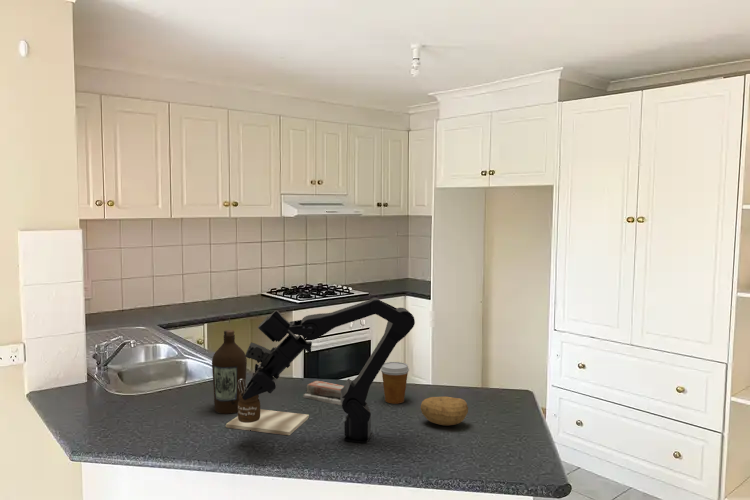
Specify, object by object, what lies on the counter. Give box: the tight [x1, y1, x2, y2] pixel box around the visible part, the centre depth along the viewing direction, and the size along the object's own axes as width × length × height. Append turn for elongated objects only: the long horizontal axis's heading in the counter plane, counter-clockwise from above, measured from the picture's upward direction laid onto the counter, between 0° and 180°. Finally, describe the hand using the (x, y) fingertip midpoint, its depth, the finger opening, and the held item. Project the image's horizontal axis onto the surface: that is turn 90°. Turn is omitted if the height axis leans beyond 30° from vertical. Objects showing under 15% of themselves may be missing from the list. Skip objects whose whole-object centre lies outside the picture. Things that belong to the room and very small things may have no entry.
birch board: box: [225, 408, 310, 436], centre depth 167 cm, size 20×14×1 cm
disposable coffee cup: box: [380, 361, 410, 405], centre depth 187 cm, size 10×10×12 cm
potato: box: [420, 396, 469, 427], centre depth 166 cm, size 10×14×8 cm
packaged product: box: [302, 380, 345, 406], centre depth 189 cm, size 18×5×10 cm
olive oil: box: [211, 329, 248, 415], centre depth 177 cm, size 11×11×25 cm
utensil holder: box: [237, 379, 261, 423], centre depth 151 cm, size 6×6×12 cm
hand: (244, 395), depth 151 cm, fingers closed on utensil holder, 5 cm apart
